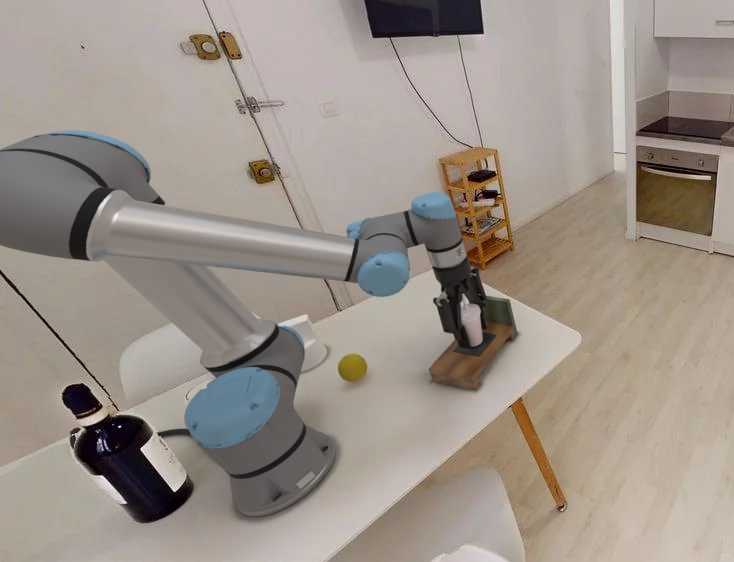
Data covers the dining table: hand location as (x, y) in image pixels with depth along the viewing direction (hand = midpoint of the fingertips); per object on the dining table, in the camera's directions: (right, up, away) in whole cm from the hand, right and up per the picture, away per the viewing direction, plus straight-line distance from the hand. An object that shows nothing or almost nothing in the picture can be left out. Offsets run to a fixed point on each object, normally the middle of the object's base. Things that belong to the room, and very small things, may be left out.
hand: (473, 337), depth 102 cm
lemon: (-27, -10, -3) cm, 28 cm away
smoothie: (0, -1, +1) cm, 2 cm away
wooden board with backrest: (0, -6, +2) cm, 6 cm away
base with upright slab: (-44, -7, +3) cm, 45 cm away
